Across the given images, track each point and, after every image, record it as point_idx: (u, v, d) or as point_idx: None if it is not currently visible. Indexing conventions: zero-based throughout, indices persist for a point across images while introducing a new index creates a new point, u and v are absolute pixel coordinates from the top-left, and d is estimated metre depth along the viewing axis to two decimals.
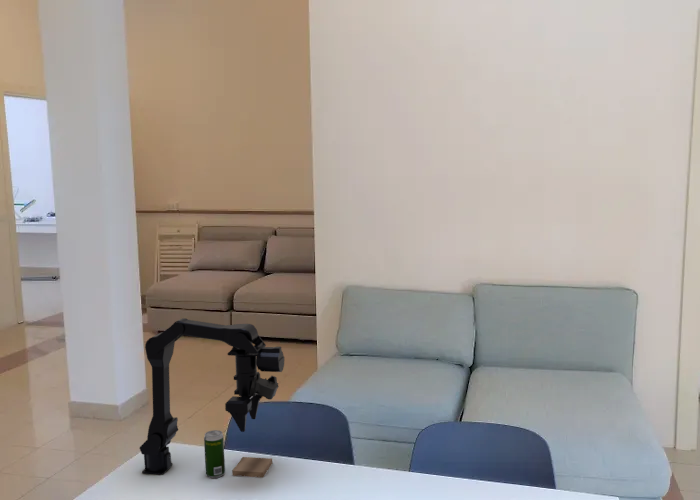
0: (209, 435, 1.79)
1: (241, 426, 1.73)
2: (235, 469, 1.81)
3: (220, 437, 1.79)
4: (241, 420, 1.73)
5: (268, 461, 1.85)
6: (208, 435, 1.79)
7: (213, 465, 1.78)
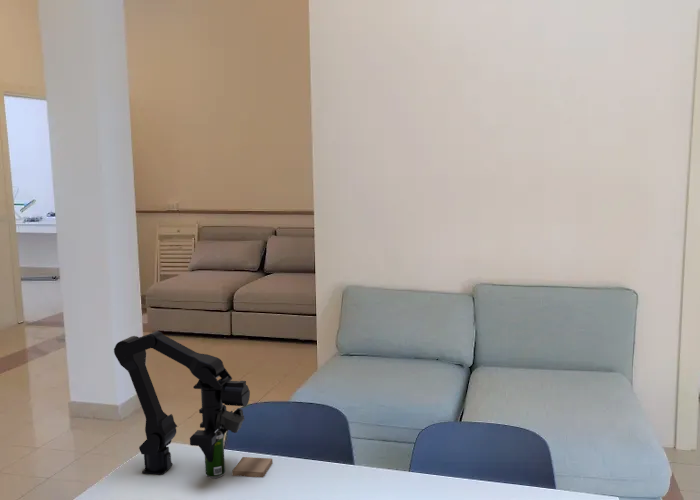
0: None
1: (209, 457, 1.77)
2: (235, 469, 1.81)
3: (220, 437, 1.79)
4: (209, 451, 1.76)
5: (268, 461, 1.85)
6: None
7: (213, 465, 1.78)
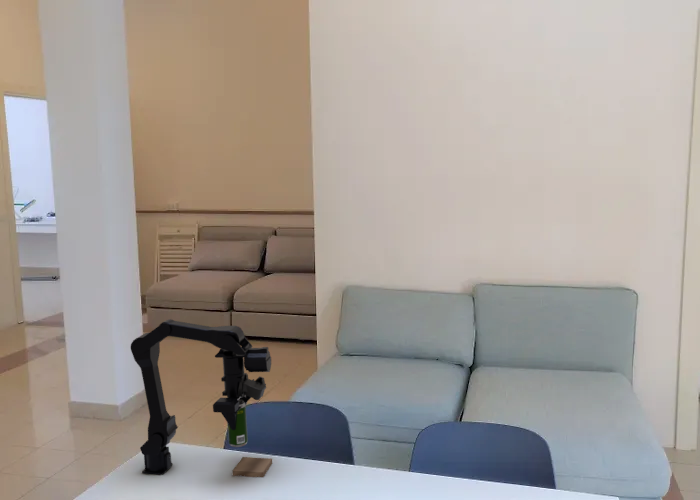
0: None
1: (232, 425, 1.78)
2: (235, 469, 1.81)
3: (242, 406, 1.79)
4: (231, 418, 1.77)
5: (268, 461, 1.85)
6: None
7: (236, 434, 1.79)
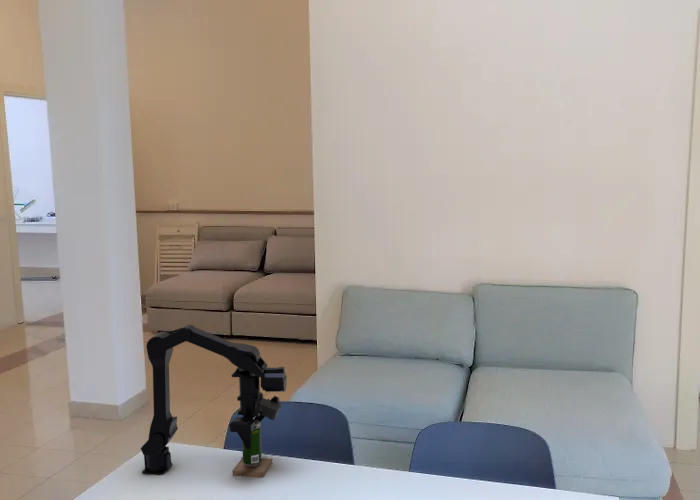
0: None
1: (247, 444, 1.80)
2: (235, 469, 1.81)
3: (257, 426, 1.81)
4: (247, 437, 1.79)
5: (268, 461, 1.85)
6: None
7: (251, 453, 1.81)
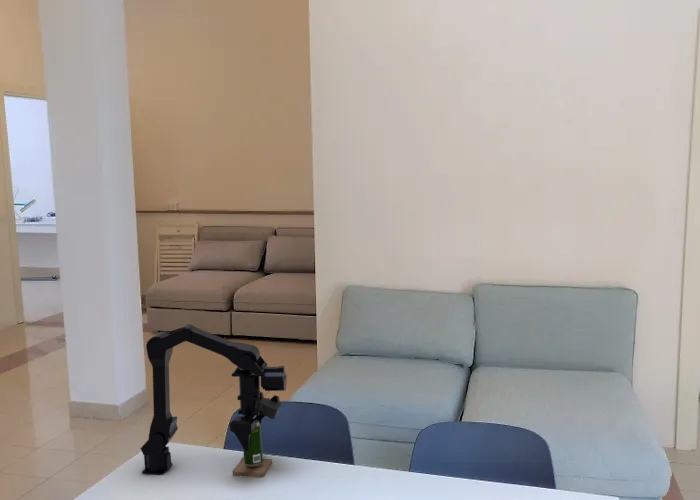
0: None
1: (245, 445, 1.78)
2: (235, 470, 1.81)
3: (257, 424, 1.83)
4: (245, 439, 1.77)
5: (268, 462, 1.86)
6: None
7: (252, 453, 1.81)
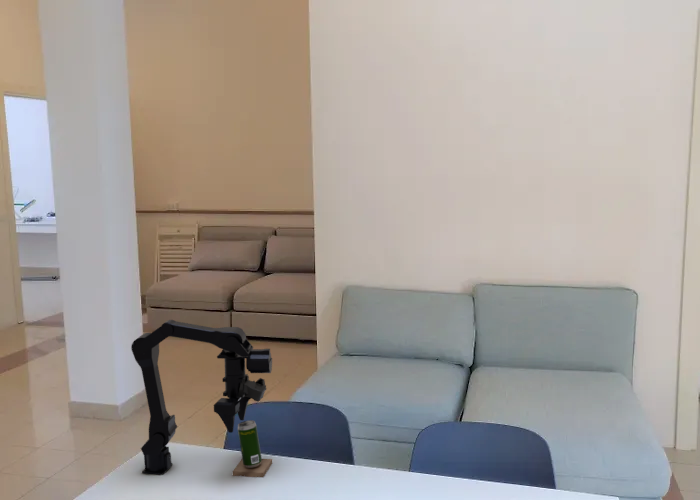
0: (242, 425, 1.82)
1: (229, 427, 1.78)
2: (235, 470, 1.81)
3: (253, 425, 1.82)
4: (229, 421, 1.77)
5: (268, 462, 1.86)
6: (241, 425, 1.82)
7: (250, 454, 1.81)
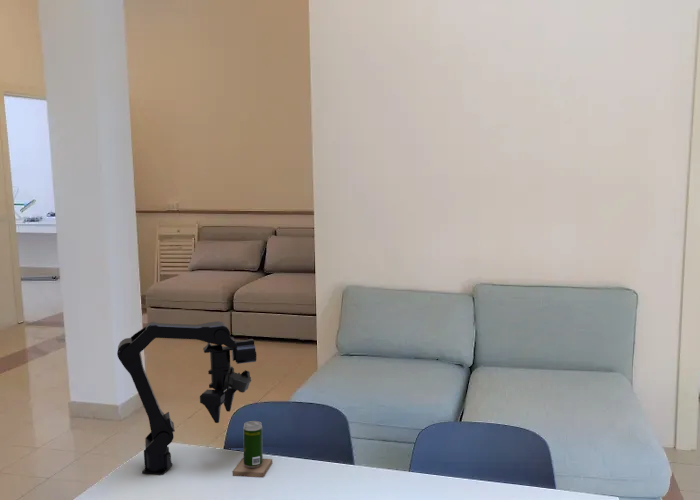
0: (249, 425, 1.81)
1: (215, 418, 1.84)
2: (235, 469, 1.81)
3: (259, 427, 1.81)
4: (215, 412, 1.84)
5: (268, 462, 1.86)
6: (248, 425, 1.81)
7: (252, 455, 1.81)
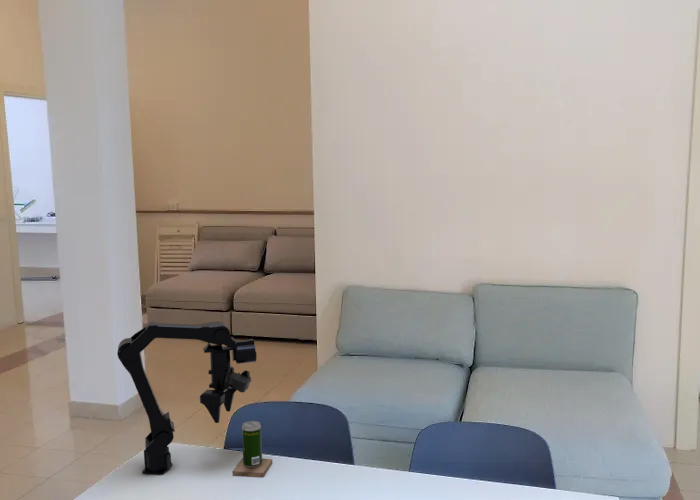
0: (247, 425, 1.82)
1: (215, 418, 1.84)
2: (235, 470, 1.81)
3: (258, 427, 1.82)
4: (215, 412, 1.84)
5: (268, 462, 1.86)
6: (246, 425, 1.82)
7: (251, 455, 1.81)
